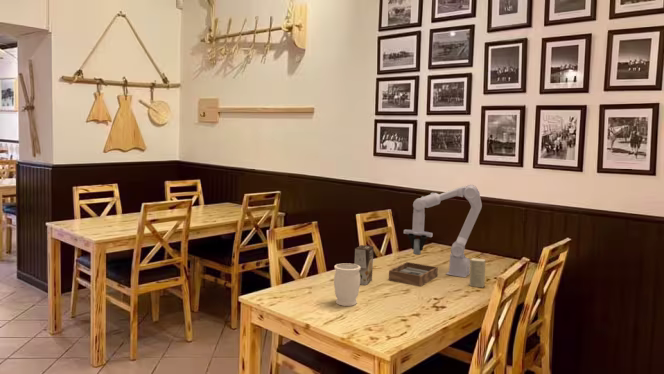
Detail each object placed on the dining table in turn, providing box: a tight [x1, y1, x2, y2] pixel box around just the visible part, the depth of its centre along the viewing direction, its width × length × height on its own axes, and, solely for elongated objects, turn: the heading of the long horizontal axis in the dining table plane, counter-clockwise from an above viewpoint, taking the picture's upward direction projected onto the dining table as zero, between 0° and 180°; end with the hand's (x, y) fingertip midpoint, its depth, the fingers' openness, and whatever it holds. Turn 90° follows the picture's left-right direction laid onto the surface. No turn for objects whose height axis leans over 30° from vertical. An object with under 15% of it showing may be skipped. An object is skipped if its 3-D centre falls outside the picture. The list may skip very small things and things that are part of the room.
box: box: [388, 261, 439, 287], centre depth 251 cm, size 20×16×4 cm
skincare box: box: [469, 257, 486, 288], centre depth 242 cm, size 6×4×12 cm
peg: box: [412, 238, 422, 255], centre depth 265 cm, size 4×4×7 cm
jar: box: [333, 262, 361, 307], centre depth 212 cm, size 11×10×15 cm
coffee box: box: [353, 244, 374, 286], centre depth 242 cm, size 9×6×16 cm
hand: (417, 249), depth 265 cm, fingers closed on peg, 4 cm apart
